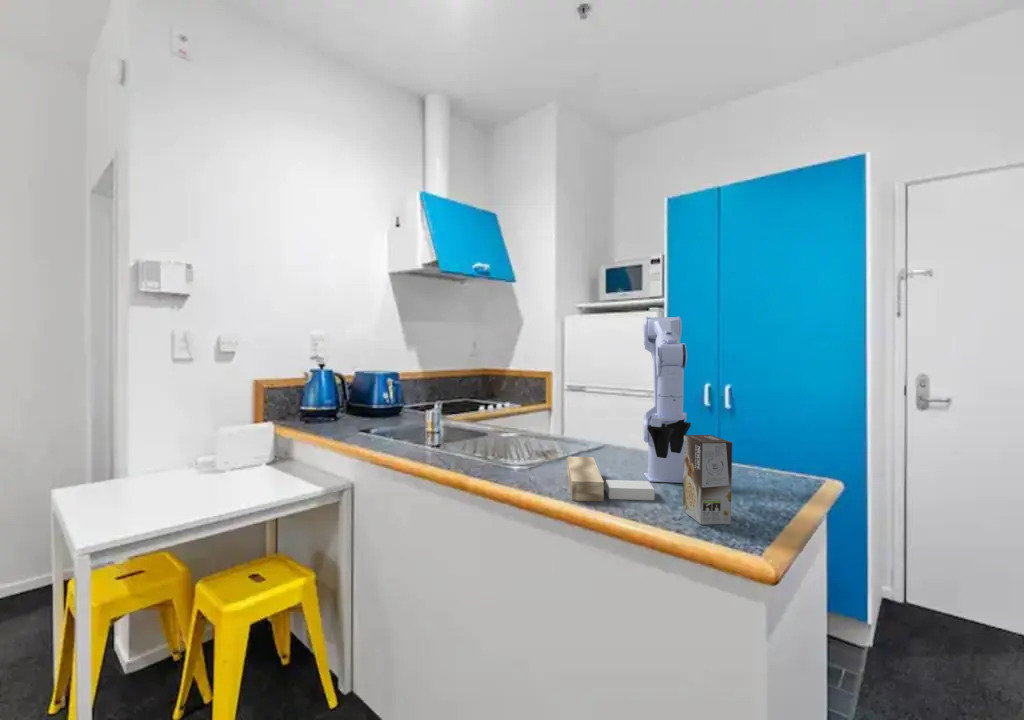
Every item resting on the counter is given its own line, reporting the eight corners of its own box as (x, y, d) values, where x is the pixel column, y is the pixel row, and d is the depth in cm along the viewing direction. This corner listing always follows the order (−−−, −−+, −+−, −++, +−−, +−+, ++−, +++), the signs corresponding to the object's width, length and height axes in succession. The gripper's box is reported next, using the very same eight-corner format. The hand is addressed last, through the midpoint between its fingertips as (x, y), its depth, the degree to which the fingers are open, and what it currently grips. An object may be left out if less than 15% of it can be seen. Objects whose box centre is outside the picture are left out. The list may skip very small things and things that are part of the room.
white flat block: (648, 491, 120) (648, 481, 120) (654, 500, 113) (654, 489, 113) (605, 490, 121) (605, 479, 121) (609, 498, 114) (609, 487, 114)
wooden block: (593, 473, 137) (593, 457, 137) (603, 501, 112) (603, 482, 112) (567, 472, 138) (567, 456, 138) (571, 500, 112) (572, 481, 112)
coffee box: (732, 524, 98) (734, 442, 98) (700, 525, 97) (702, 442, 97) (710, 509, 107) (711, 434, 107) (680, 510, 106) (682, 434, 106)
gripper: (667, 393, 125) (666, 448, 125) (639, 396, 114) (638, 456, 114) (695, 395, 120) (694, 452, 120) (669, 399, 109) (667, 461, 109)
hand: (668, 454), depth 117 cm, fingers open, 7 cm apart
